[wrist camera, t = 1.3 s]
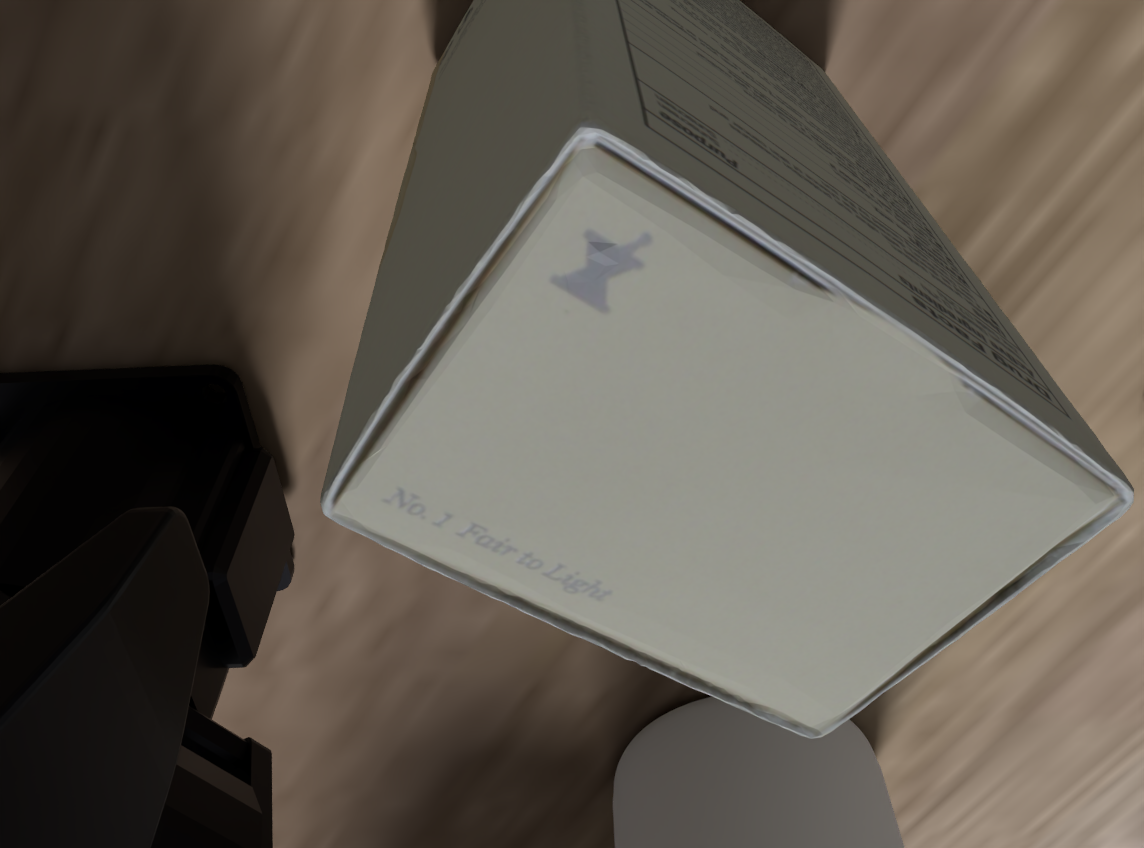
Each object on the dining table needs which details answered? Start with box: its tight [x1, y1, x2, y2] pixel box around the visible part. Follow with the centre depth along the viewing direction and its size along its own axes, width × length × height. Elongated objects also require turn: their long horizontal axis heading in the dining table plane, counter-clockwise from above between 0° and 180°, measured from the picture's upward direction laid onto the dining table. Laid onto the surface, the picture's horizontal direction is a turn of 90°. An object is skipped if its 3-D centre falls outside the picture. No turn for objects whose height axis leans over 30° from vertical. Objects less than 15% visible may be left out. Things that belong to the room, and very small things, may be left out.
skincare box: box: [320, 0, 1134, 739], centre depth 14 cm, size 6×4×12 cm
